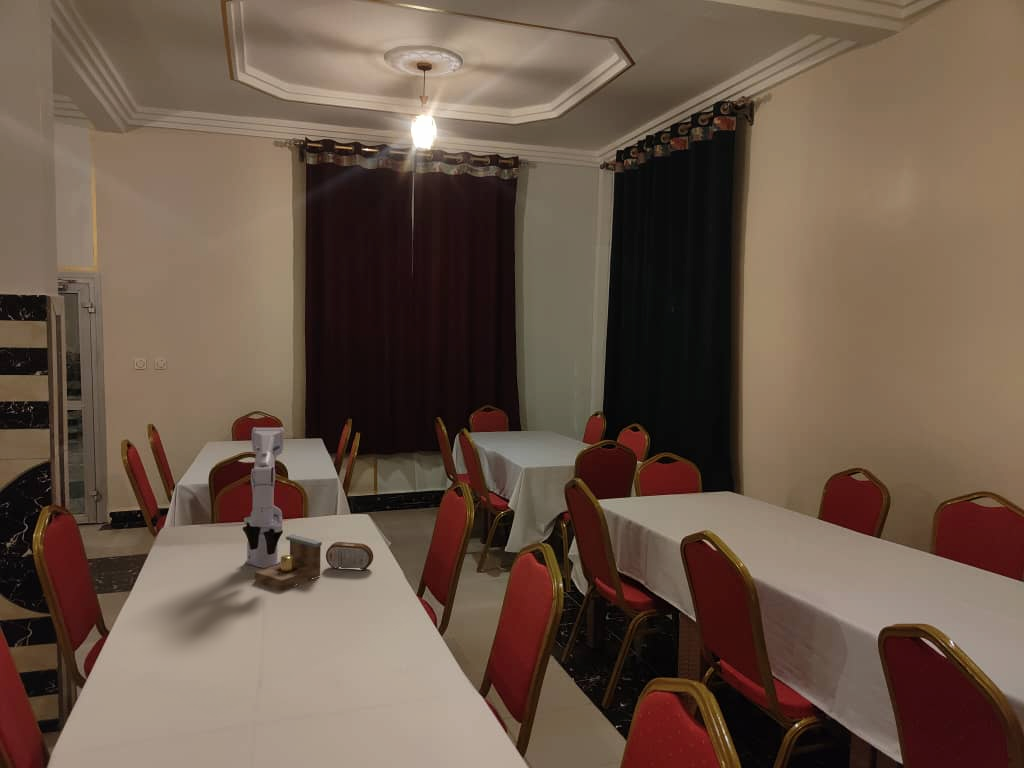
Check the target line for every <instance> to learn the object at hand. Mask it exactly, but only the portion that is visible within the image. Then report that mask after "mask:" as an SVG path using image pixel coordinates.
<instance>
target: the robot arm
mask: <svg viewBox="0 0 1024 768" xmlns="http://www.w3.org/2000/svg"><path fill="white" fill-rule="evenodd" d="M284 433H285V429H284V427H282V426H281V427H256V426H255V427H253V428H252V429H251V445H252V451H253V454H254V455H255V457H254V465H253V468H251V472H250V473H251V474H250V483H251V493H252V510H251V512H250V516H245V517H244V518H243V524H244V525H246V526H243V527H242V531H243V532H244V533H245V536H246V538H247V543H246V545H247V546H246V553H247V554H246V560H245V561H244V563H245V564H248V565H251V566H256V567H258V568H261V569H266V568H269V567H272V566H275V565H278V564H281V558H280V559H279V558H278V557H279V556H278V555H279V554H278V551H279V550H278V547H279V544H278V542H279V541H280V537H282V535H283V533H284V530H283V512H282V510H281V509H280V508H279V507H278V506H275V504H274V497H275V496H274V493H275V491H274V490H275V481H276V469H275V467H276V466H275V464H276V459H277V456H279V455H281V454H283V451H284V443H285V442H284V440H285V439H284V438H285V437H284V436H285V434H284Z"/></svg>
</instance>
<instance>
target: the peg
mask: <svg viewBox="0 0 1024 768" xmlns="http://www.w3.org/2000/svg"><path fill="white" fill-rule="evenodd" d="M280 560H281V563H280V564H281V572H282V573H285V574H288V573H290V572H293V556H291V555H290V554H288V555H281V556H280Z"/></svg>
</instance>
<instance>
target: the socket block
mask: <svg viewBox="0 0 1024 768" xmlns="http://www.w3.org/2000/svg"><path fill="white" fill-rule="evenodd" d="M285 540H287V541H289V555H291V556H293V572H290V573H288V574H285V573H282V572H281V563H279V564H276V565H273V566H270V567H267V568H262V569H260V570H256V571H255V572H254V582H255V583H257V582H258V584H260V583H261V584H260V585H264V586H267V587H270V588H273V589H276V588H277V589H276V590H279V589H281V590H280V591H284V589H285V590H287V589H286V588H288V589H290V588H292V587H291V586H293V587H295V586H294V585H296V584H299V583H301V582H304V583H306V582H305V581H307V580H310V579H312V578H315V577H318V576H320V577H321V549H322V548H321V546H322V545H323V542H322V541H319V540H316V539H311V538H308V537H303V536H299V535H296V534H290V535H287V536H285ZM318 578H319V577H318ZM315 579H316V578H315ZM312 580H313V579H312ZM310 581H311V580H310ZM307 582H308V581H307ZM301 584H302V583H301ZM299 585H300V584H299ZM296 586H297V585H296ZM289 587H290V588H289Z"/></svg>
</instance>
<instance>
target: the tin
mask: <svg viewBox="0 0 1024 768" xmlns="http://www.w3.org/2000/svg"><path fill="white" fill-rule="evenodd" d="M325 558H326V559H325V560H326V562H327V564H328V565H329V566H330V567H331V568H333V567H336V568H339V567H341V568H360V569H364V570H366V569H367V568H369V567H370V566H371V564H373V560H374V553H373V550H372V548H371V547H369V546H368V545H367V544H365V543H357V542H345V541H337V542H334V543H332V544H331V545H330V546H329V547H328V548H327V550H326V552H325Z"/></svg>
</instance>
